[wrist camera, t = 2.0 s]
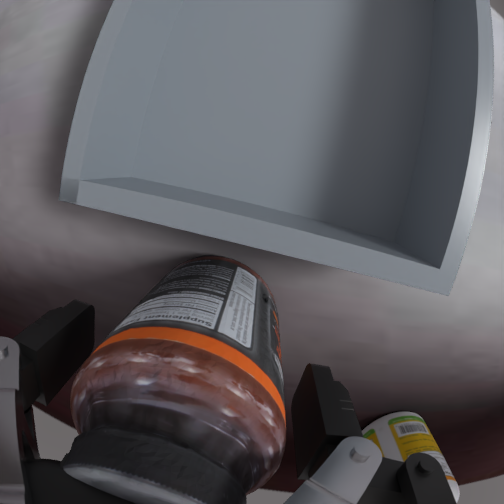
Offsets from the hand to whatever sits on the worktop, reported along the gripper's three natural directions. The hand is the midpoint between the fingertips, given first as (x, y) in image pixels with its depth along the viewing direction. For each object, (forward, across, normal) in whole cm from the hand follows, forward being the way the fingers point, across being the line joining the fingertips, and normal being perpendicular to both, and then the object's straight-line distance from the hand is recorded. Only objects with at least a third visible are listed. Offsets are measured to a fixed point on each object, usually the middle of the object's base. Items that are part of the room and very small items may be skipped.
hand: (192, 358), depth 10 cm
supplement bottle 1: (+5, 0, 0) cm, 5 cm away
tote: (+5, -1, -14) cm, 15 cm away
